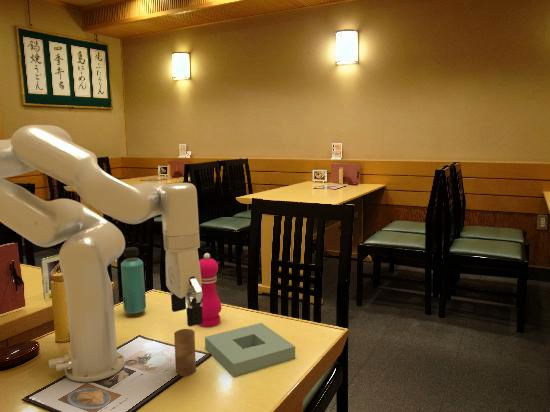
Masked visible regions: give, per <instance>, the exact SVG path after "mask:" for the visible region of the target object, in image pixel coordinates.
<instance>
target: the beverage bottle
mask: <svg viewBox="0 0 550 412" xmlns="http://www.w3.org/2000/svg"><path fill="white" fill-rule="evenodd" d="M139 252H140V251H139V248H138V247H135V246H130V247H125V248H124V251H123V256H124V257H125V259H124V260H123V261H121V263H120V270H121V271H120V272H121V280H120V281H121V285H122V286H121V289H122V304H123V310H124V312H125V313H126V314H138V313H142V312H143V311H144V312H145V310H146V309H147V301H146V299H147V298H146V297H147V296H146V285H145V274H144V273H145V272H144V262H143V260H142V259H140V258H138V257H137V256H139V255H140V253H139Z"/></svg>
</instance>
